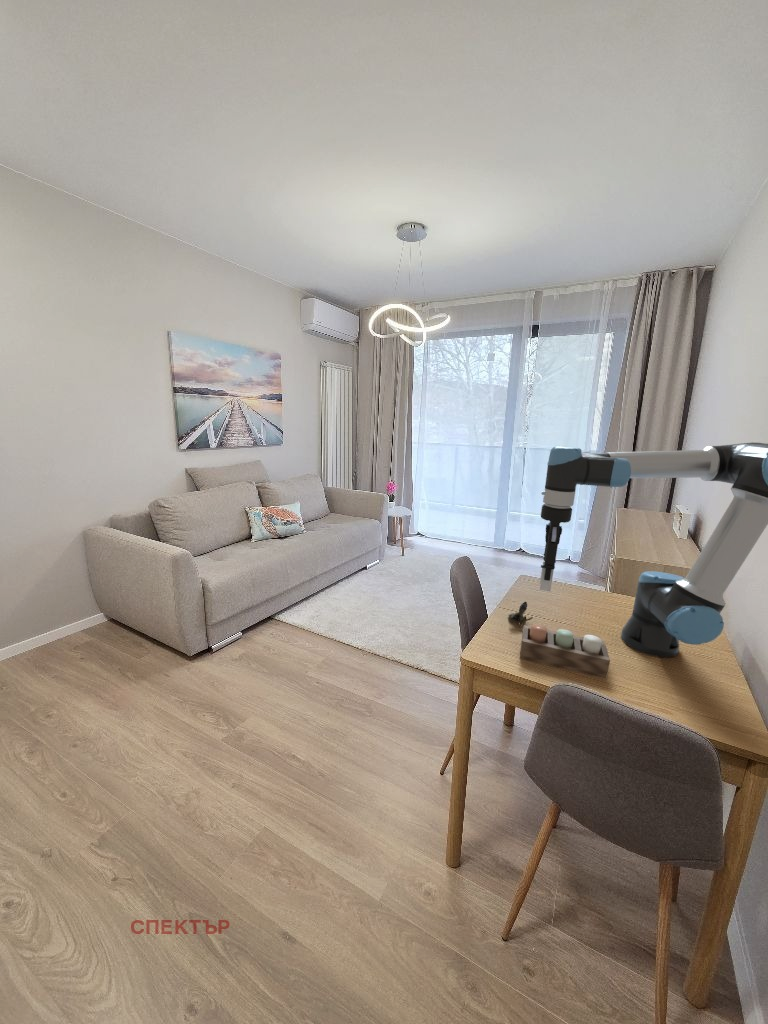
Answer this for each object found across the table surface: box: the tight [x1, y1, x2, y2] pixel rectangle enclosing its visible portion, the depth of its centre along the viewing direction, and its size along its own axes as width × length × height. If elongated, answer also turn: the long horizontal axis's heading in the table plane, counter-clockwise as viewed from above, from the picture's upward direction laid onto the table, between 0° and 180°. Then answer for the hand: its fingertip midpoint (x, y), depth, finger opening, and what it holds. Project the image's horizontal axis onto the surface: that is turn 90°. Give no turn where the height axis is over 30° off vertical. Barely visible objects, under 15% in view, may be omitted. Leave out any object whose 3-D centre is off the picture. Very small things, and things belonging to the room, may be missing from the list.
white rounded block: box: [582, 634, 603, 655], centre depth 114 cm, size 4×4×5 cm
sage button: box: [555, 628, 575, 649], centre depth 116 cm, size 4×4×5 cm
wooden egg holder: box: [519, 624, 611, 680], centre depth 117 cm, size 22×10×6 cm, turn 69°
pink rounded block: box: [529, 623, 548, 643], centre depth 119 cm, size 4×4×5 cm
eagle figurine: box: [508, 601, 534, 628], centre depth 137 cm, size 8×7×9 cm
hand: (545, 586), depth 115 cm, fingers open, 4 cm apart
